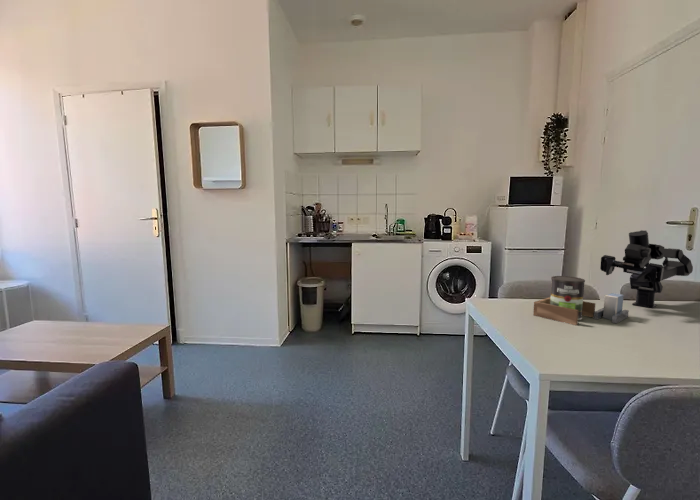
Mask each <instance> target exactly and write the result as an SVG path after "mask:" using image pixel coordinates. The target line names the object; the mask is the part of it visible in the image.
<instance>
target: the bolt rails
mask: <svg viewBox="0 0 700 500" xmlns="http://www.w3.org/2000/svg"><path fill="white" fill-rule="evenodd" d="M603 311H604V307H602V308H600V309H598V310H595V312H594V317H592V318H593V320H599V319H601V318H603ZM629 311H630V310H628V309H622V311H621V312H619V313H617V314H614V315H612V320H611V323H613V324H618V323H619V322H622V321H623V320H625V319H627V318H628V317H629Z"/></svg>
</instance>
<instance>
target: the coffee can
mask: <svg viewBox="0 0 700 500" xmlns="http://www.w3.org/2000/svg"><path fill="white" fill-rule="evenodd" d="M585 283H586V280H585V278H581V277H576V276H570V275H569V276H568V275H555V276H554V275H553V276H551V284H550V296H549V297H550V304H551V305H556V306H560V307H565V308H570V309H575V310H578V321H581V320H582V319H583V315H582V308H583V301H584V295H585V294H584V293H585Z"/></svg>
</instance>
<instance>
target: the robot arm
mask: <svg viewBox="0 0 700 500" xmlns="http://www.w3.org/2000/svg"><path fill="white" fill-rule="evenodd" d="M628 239H629V240H628V241H629V243H628V244H627V245H626V247H625V248H624V256H623V257H622V261H621V260H616V257H615V256H613V255H609V254H608V255H607V254H605V255H603V256H600V257H601V258H600V269H599V270H600V271H601V272H604V273H605V275H606V276H609V275H612V273H613V272H614V270H615V269H616V268H619V269H622V270H623V273H627V274H630V275H629V285H630V289H631V290H635V291H636V293H635V295H636V296H635V302H633V303H632V305H633V306H638V307H643V308H644V307H645V308H651V309H653V308H655V307H657V306H658V304H657V303H655V297H656V294H657V293H658V294H661V293H662V291H663V285H662V281H665V280H667V279H669V278H672V277H675V276H680V277H687V276H690V274H691V275H692V273H693V271H694V268H693V264H692V261H691V259H690V258H689V257H688V256H686V255H685V253H684V252H683V249H680V248H669V247H668V248H667V247H666V248H665V246H664V245H661V244H655V243H649V242H650V240H649V233H648V230H642V229H641V230H637V231H632V232H631V231H630V232H629V233H628ZM663 258H664V260H663V261H662V264H659V263H653V262H652V263H651V262H650V261H651V260H657V261H658V260H662V259H663ZM669 259H677V260H678V261H677V260H669Z"/></svg>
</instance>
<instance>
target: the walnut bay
mask: <svg viewBox="0 0 700 500" xmlns="http://www.w3.org/2000/svg"><path fill="white" fill-rule="evenodd" d="M550 297H551V296H549V297H545V298H543V299H540V300H536V301H534V302H533V314H532V315H533V316H534V317H537V318H538V317H539V318H544V319H548V320H551V319H552V320H553V321H555V322H561V323H564V322H565V323H564V324H568V323H569V324H570V325H573V326H578V321H579V320H578V310H575V309H570V308H565V307H560V306H556V305H551V304H550ZM595 311H596V303H595V302H590V301H584V300H583V308H582V317H583V316H585V317H589V318H594V312H595ZM552 320H551V321H552Z"/></svg>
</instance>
